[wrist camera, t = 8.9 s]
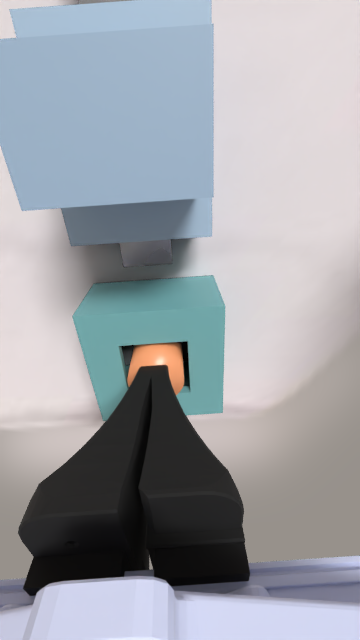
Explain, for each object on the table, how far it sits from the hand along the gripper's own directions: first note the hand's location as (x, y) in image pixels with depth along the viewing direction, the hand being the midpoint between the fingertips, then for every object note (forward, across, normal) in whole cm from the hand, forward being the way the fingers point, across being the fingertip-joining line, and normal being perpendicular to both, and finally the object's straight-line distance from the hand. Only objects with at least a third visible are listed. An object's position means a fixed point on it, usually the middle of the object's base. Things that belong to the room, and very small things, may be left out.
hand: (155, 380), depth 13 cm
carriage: (+5, 0, -10) cm, 11 cm away
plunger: (+4, 0, 0) cm, 4 cm away
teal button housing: (+5, 0, 0) cm, 5 cm away
